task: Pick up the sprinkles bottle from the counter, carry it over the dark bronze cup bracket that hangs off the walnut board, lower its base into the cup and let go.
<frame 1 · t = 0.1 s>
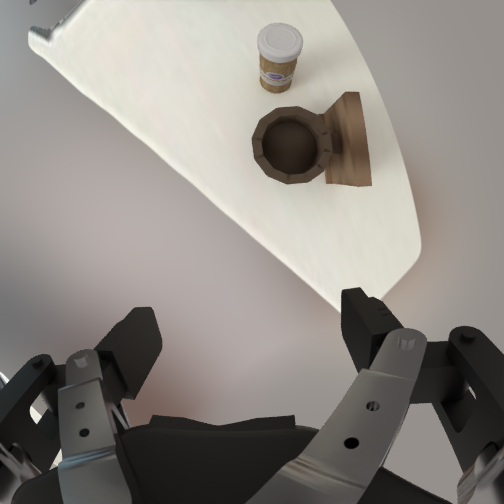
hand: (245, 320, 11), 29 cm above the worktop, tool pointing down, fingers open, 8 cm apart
sprinkles bottle: (275, 80, 34), on the worktop
bracket: (286, 151, 37), on the worktop
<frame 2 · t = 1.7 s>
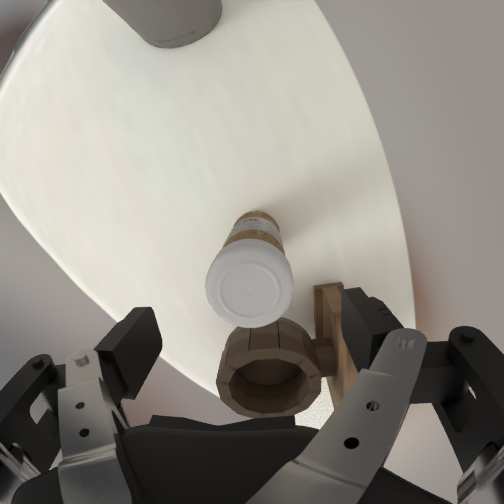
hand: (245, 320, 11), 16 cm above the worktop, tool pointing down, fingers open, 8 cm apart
sprinkles bottle: (256, 233, 27), on the worktop
bracket: (268, 332, 29), on the worktop
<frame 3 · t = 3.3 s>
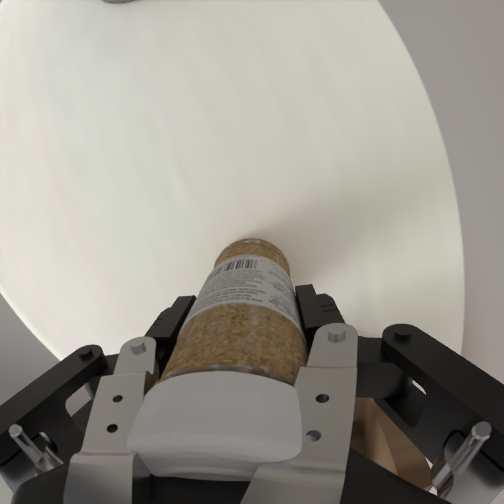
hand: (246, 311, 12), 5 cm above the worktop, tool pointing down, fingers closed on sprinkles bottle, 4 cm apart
sprinkles bottle: (252, 272, 17), on the worktop, touching gripper
bracket: (270, 403, 19), on the worktop
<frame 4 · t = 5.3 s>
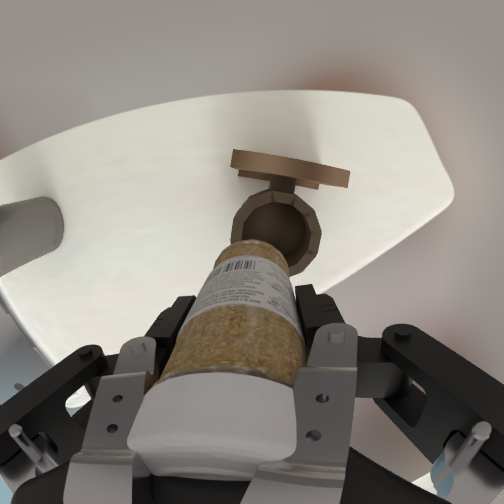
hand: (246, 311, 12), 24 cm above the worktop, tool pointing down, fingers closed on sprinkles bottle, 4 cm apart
sprinkles bottle: (252, 273, 17), point 19 cm above the worktop, touching gripper
bracket: (271, 221, 35), on the worktop
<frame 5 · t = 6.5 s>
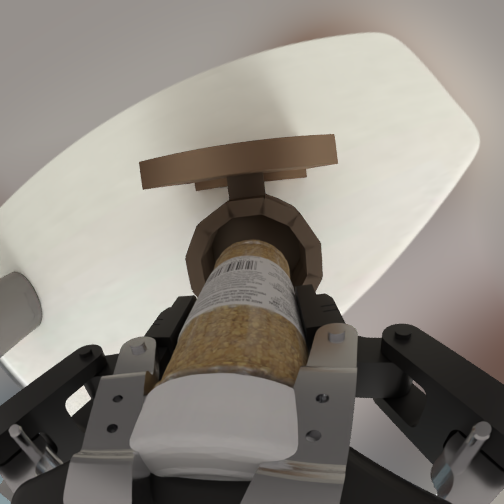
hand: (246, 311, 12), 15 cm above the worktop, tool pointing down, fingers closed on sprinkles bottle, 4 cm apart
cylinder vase: (28, 467, 59), on the worktop
sprinkles bottle: (252, 273, 17), point 10 cm above the worktop, touching gripper
bracket: (257, 237, 26), on the worktop
when the fingers open (11 cm above the worktop, at t = 7.6 s): sprinkles bottle drops 1 cm, resting on bracket.
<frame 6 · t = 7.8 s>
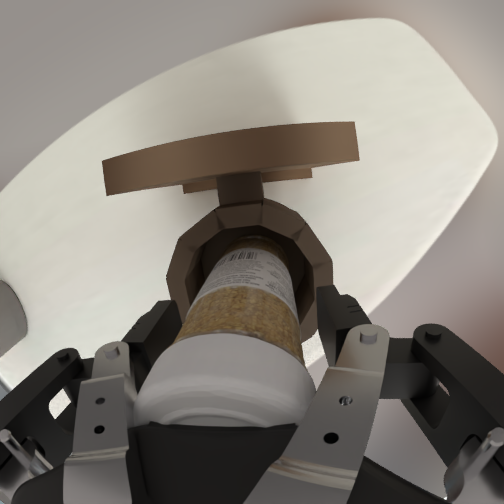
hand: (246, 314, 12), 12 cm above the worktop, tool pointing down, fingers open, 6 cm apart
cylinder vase: (25, 471, 55), on the worktop
sprinkles bottle: (254, 266, 18), point 5 cm above the worktop, touching bracket
bracket: (255, 246, 23), on the worktop
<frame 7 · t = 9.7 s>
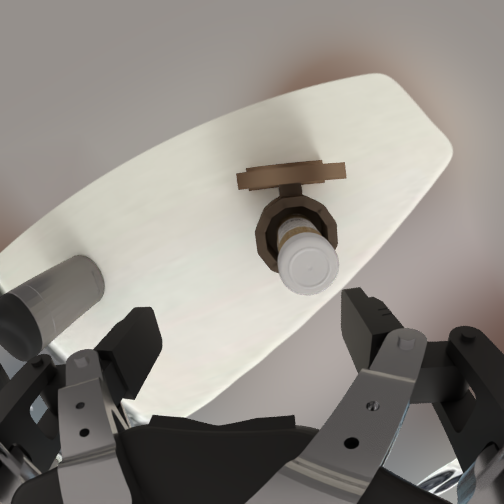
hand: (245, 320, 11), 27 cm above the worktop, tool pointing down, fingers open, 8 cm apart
sprinkles bottle: (295, 230, 33), point 5 cm above the worktop, touching bracket
bracket: (291, 223, 37), on the worktop
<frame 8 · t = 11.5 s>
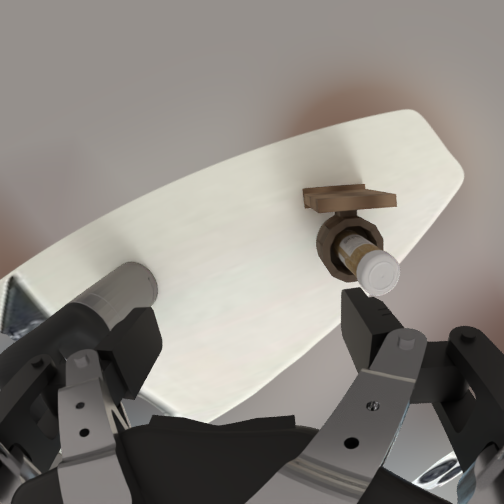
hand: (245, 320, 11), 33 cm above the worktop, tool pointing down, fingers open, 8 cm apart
sprinkles bottle: (346, 243, 39), point 5 cm above the worktop, touching bracket
bracket: (337, 236, 43), on the worktop
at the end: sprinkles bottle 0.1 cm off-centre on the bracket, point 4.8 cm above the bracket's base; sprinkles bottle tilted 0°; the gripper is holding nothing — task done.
